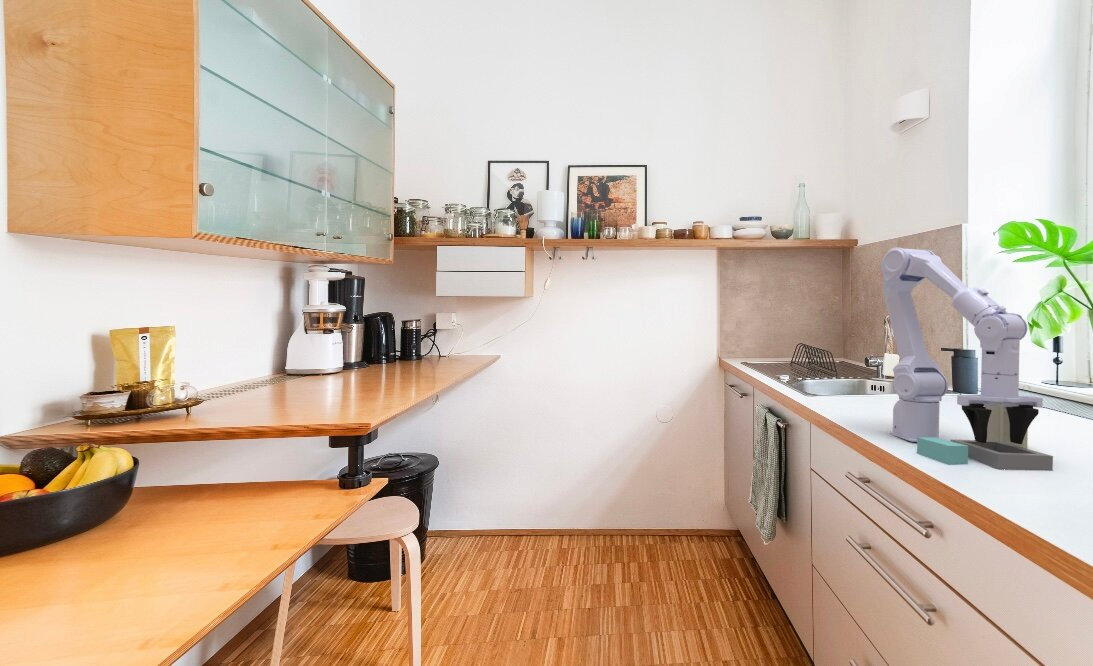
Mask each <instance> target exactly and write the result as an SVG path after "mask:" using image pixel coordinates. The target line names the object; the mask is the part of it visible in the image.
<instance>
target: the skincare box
mask: <svg viewBox="0 0 1093 666" xmlns="http://www.w3.org/2000/svg"><path fill="white" fill-rule="evenodd" d="M984 403H986V402H984ZM992 403H1009V402H994V401H992ZM1012 404H1015V403H1012ZM984 407H986V409H990V410H992V412H991V415H990V418H989V421H988V427H987V441H1000V442H1004V443H1008V444H1011V445H1015V446H1018V447H1022V448H1026V449H1028V441H1029V440H1028V439H1029V438H1028V437H1029V436H1028V435H1029V434H1028V433H1029V430H1028V429H1029V428H1028V429H1027V432H1026V434H1025V437H1024V440H1023V442H1022V444H1016V443H1013V442H1011V441H1010V423H1009V417H1008V413H1007V410H1006V407H1014V406H984Z"/></svg>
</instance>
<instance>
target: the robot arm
mask: <svg viewBox="0 0 1093 666" xmlns="http://www.w3.org/2000/svg"><path fill="white" fill-rule="evenodd" d="M879 266H880V269H881V274H882V287H881V288H882V289H881V291H882V296H883V299H884V303H885V306H886V310H887V316H888V319H889V322H890V327H891V330H892V333H893V338H894V341H895V342H894V343H895V345H896V349H897V353H898V356H899V357H898V358H899V362H898V363H897V364H896V365H894V366H893V368H892V371H893V382H892V383H893V384H892V385H893V389H894V392H895V394H897V396H898V400H897V401H896V402H895V403H894V405H893V409H892V431H888V434H889V435H892V436H894V437H896V438H900V439H903V440H906V441H907V442H908V441H909V442H911V443H912V442H913V443H917V437H936V438H940V439H942V438H941V437H940V405H941V404H940V402H942V397H944V396H945V395H946V394H947V392H948V391H949V381H948V379H947V377H946V376H945V374H944V373H943V372H942V370H941V368H940V364H939V363H937V362H936V361H935V360H934V359H932V358H931V357H930V356H929V353H928V350H927V346H926V343H925V342H926V341H925V339H924V335H923V331H922V328H921V325H920V320H919V318H918V313H917V311H916V306H915V303H914V299H913V296H912V292H913V290H914V288H917V286H918V285H920V284H921V283H922V282H923V281H924V280H925V279H927V280H928V281H929V282H931V283H932V284H933V285H935V286H936V287H937V288H938V289H940V290H941V291H942V292H943V293H945V294H946V295H947V296H948V297H950V298H951V299H952V303H951V304H952V307H953V309H954V310H956V311H957V313H958V314H960V315H961V316H962V317H963V318H964V319H966V321H968V322H969V323H970V325H972V326H973V331H974V334H975V336H976V338H977V339H978V340H979V344H980V345H979V348H980V349H981V371H980V372H981V373H980V374H981V375H980V381H981V382H980V394H957V395H956V397H957V398H956V404H957V405H959V406H961V410H962V411H963V413H964V415H965V416H966V419H967V420H968V422H969V424H970V427H971V429H972V433H973V437H974V440H975V441H977V442H980V443H986V441H987V427H988V421H989V418H990V415H991V412H992V410H990V409H986V407H984V406H1014V407H1006V410H1007V413H1008V417H1009V423H1010V441H1011V442H1013V443H1016V444H1022V442H1023V440H1024V437H1025V434H1026V432H1027V429H1029V428H1030V425H1031V424H1032V423H1033V422H1034V419H1036V418H1037V416H1038V415H1039V410H1040V409H1039V408H1043V405H1044V403H1043V401H1044V400H1043V397H1038V396H1026V395H1025V396H1024V395H1019V394H1020V393H1019V391H1020V389H1019V385H1020V384H1019V383H1020V382H1019V381H1020V380H1019V379H1020V347H1021V346H1020V342H1021V340H1022V339H1024V338H1025V337H1026V335H1027V333H1028V324H1027V322H1026V320H1025V319H1024V318H1023V317H1022V315H1020V314H1018V313H1013V312H1008V311H1006V310H1007V308H1006V307H1005V306H1004V305H1000V304H998V303H997V302H996V301H994V299H993V298H991V297H990V296H989V291H988V290H986V289H984V288H978V287H968V286H967V285H966V284H965V283H964V282H963V281H962V280H960V278H959V277H958V276H957V275H956V274H955V273H954V272H952V271H951V269H950V268H948V266H946V265H945V264H944V263H943V262H942V258H941V257H940V256H938V255H937V254H935V253H934V252H933V251H931V250H930V249H915V248H902V247H898V246H897V247H892V248H890V249H889V250H888V251H887V252H886V253H885V254H884V256H883V258H882V260H881V261H880V263H879ZM992 401H994V402H1009V403H992ZM984 402H986V403H984ZM1012 403H1015V404H1012ZM946 440H947V439H946ZM947 441H949V440H947Z"/></svg>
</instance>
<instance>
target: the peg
mask: <svg viewBox="0 0 1093 666" xmlns="http://www.w3.org/2000/svg"><path fill="white" fill-rule="evenodd" d="M940 438H941V437H939V438H936V437H917V442H916V454H918V455H921V456H922V457H926V458H929V459H931V460H934V461H937V462H940V463H942V464H945V465H947V466H948V465H949V466H953V465H955V466H957V465H968V464H969V457H968V446H967V445H963V444H959V443H955V442H951V441H950V440H948V441H947V439H944V438H941V439H940Z"/></svg>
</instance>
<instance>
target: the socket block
mask: <svg viewBox="0 0 1093 666" xmlns="http://www.w3.org/2000/svg"><path fill="white" fill-rule="evenodd" d="M949 441H951V442H955V443H959V444H963V445H967V446H968V459H971V460H974V461H976V462H978V463H981V464H982V465H986V466H988V467H990V468H993V469H995V470H997V469H998V470H1000V471H1046V472H1047V471H1049V472H1050V471H1052V472H1053V471H1054V469H1053V468H1054V467H1053V466H1054V463H1053V462H1054V456H1053V455H1051V454H1048V453H1043V452H1040V451H1037V450H1032V449H1029V448H1027V449H1026V448H1022V447H1018V446H1015V445H1011V444H1008V443H1004V442H1000V441H986V443H980V442H977V441H975V439H950V440H949ZM1004 469H1005V470H1004ZM998 470H997V471H998Z"/></svg>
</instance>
